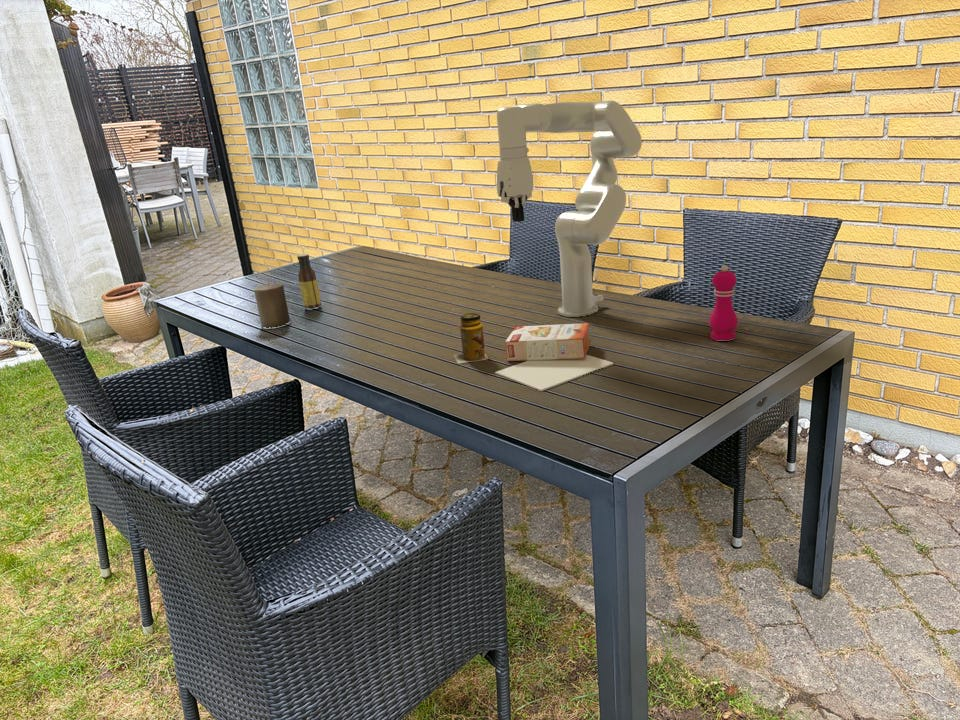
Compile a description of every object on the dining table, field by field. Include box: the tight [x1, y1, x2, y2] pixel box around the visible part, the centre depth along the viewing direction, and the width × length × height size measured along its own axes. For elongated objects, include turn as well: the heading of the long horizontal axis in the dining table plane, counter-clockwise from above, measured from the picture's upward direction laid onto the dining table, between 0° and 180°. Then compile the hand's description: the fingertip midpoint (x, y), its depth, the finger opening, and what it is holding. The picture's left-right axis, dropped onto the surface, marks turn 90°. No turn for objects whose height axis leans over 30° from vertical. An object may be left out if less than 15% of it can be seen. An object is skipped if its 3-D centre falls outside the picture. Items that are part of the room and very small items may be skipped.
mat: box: [494, 354, 615, 392], centre depth 185 cm, size 24×18×1 cm
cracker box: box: [504, 322, 592, 362], centre depth 196 cm, size 14×6×21 cm
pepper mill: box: [708, 264, 739, 340], centre depth 193 cm, size 7×7×20 cm
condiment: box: [452, 312, 490, 365], centre depth 198 cm, size 7×8×12 cm
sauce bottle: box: [296, 253, 322, 309], centre depth 263 cm, size 6×6×20 cm
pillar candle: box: [253, 282, 291, 328], centre depth 246 cm, size 10×10×15 cm
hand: (518, 221), depth 207 cm, fingers closed
